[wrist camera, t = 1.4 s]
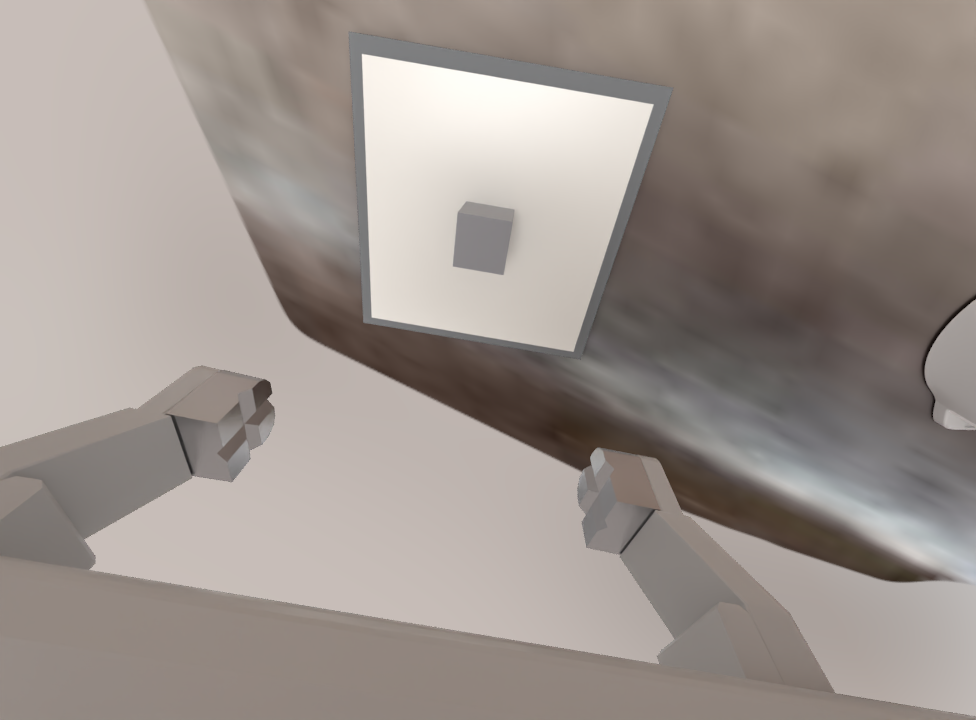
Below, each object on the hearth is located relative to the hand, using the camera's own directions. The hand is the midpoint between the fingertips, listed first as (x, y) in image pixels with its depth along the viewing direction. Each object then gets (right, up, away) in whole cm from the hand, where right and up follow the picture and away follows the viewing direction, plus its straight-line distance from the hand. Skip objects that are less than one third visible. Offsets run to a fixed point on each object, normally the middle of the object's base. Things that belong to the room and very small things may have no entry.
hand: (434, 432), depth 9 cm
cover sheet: (+1, +12, +18) cm, 22 cm away
